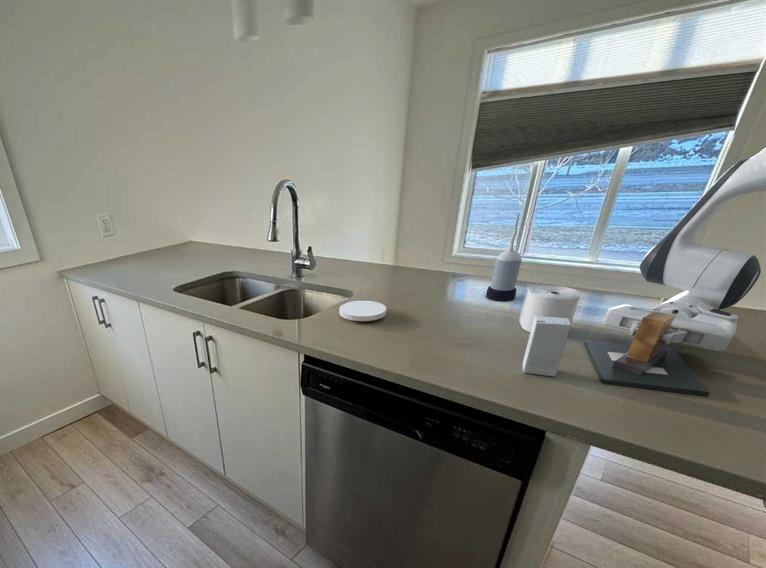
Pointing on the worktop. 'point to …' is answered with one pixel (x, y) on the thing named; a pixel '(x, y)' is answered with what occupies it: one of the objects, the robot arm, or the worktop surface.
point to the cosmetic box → (546, 345)
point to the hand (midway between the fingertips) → (649, 335)
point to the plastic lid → (362, 310)
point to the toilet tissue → (548, 304)
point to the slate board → (661, 377)
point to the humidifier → (505, 272)
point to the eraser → (646, 344)
